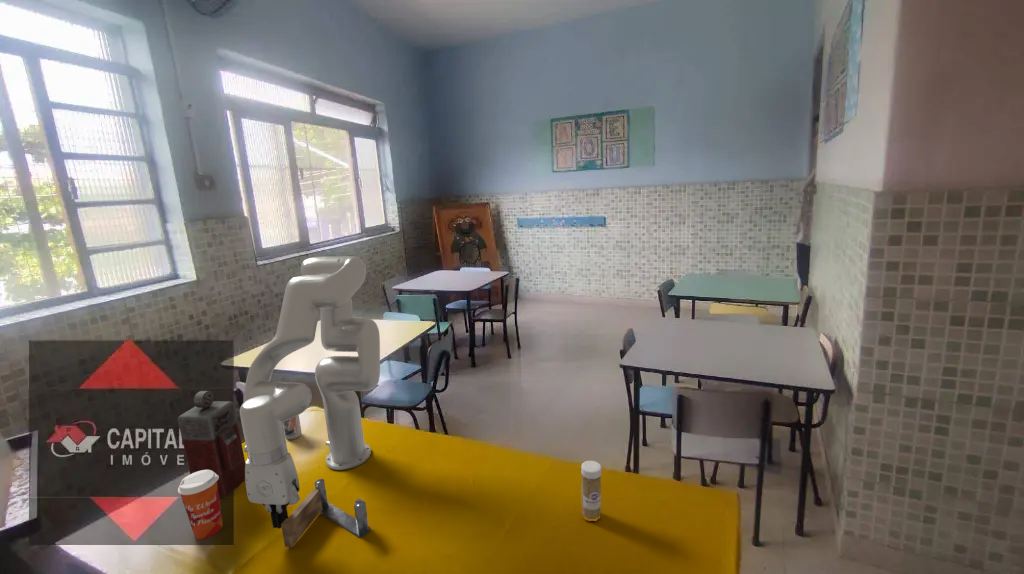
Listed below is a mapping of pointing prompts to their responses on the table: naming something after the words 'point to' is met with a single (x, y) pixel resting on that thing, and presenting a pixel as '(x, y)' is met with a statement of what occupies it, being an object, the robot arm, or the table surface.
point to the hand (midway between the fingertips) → (280, 523)
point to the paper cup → (202, 503)
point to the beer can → (292, 428)
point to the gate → (301, 518)
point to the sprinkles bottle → (591, 489)
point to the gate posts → (342, 518)
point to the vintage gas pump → (213, 441)
